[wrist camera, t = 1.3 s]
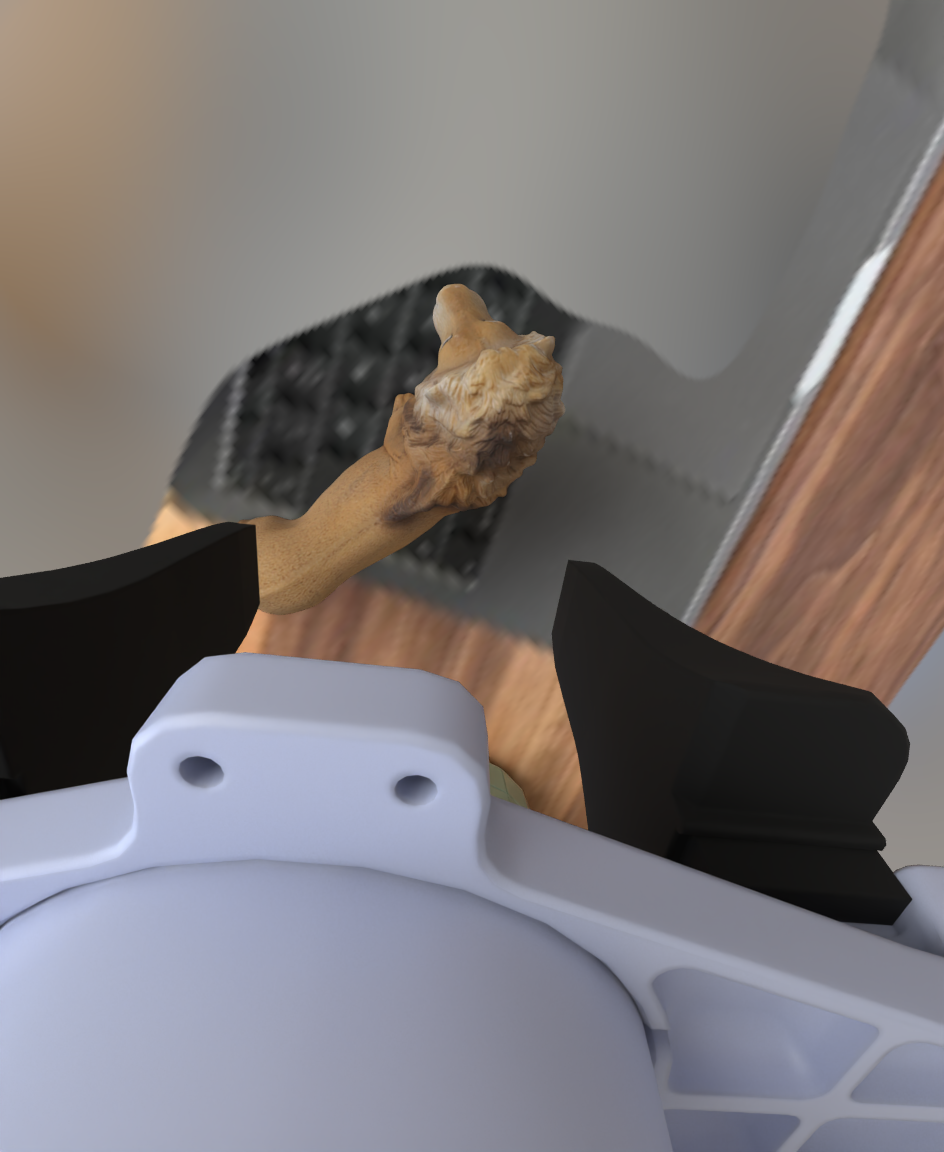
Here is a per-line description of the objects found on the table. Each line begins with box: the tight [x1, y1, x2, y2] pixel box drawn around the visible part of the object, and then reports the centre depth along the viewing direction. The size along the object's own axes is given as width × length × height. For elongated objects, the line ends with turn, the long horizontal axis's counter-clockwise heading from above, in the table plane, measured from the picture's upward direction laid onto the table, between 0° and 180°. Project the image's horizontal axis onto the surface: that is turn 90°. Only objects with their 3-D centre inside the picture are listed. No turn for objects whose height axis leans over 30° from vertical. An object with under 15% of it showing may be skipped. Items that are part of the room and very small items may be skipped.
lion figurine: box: [238, 284, 565, 615], centre depth 18 cm, size 15×5×9 cm, turn 134°
